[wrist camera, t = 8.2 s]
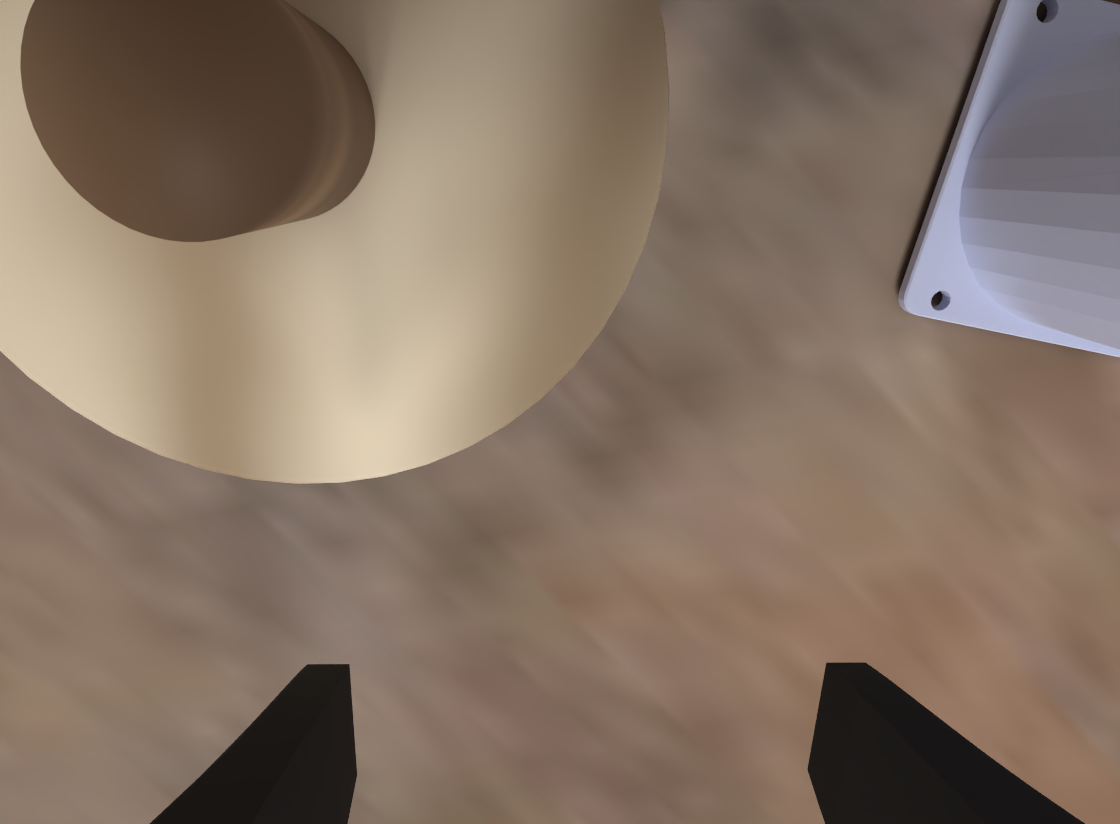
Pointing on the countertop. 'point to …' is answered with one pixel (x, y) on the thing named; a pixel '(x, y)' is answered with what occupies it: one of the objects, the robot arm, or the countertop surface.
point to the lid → (320, 216)
